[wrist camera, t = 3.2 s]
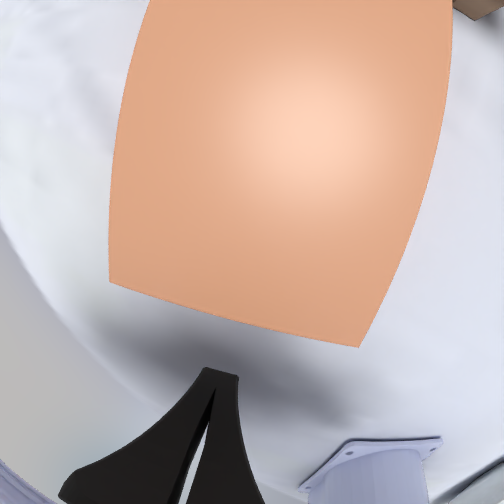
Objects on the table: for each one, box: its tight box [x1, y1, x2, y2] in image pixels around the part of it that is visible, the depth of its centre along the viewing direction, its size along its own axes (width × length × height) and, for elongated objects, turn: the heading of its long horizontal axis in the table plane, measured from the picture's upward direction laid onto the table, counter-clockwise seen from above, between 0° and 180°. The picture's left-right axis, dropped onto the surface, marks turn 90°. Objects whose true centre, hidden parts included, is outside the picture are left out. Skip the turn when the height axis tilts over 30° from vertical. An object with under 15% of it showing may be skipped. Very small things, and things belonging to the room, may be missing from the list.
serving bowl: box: [448, 462, 504, 504], centre depth 15 cm, size 21×21×7 cm
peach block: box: [109, 0, 453, 348], centre depth 6 cm, size 10×7×3 cm
